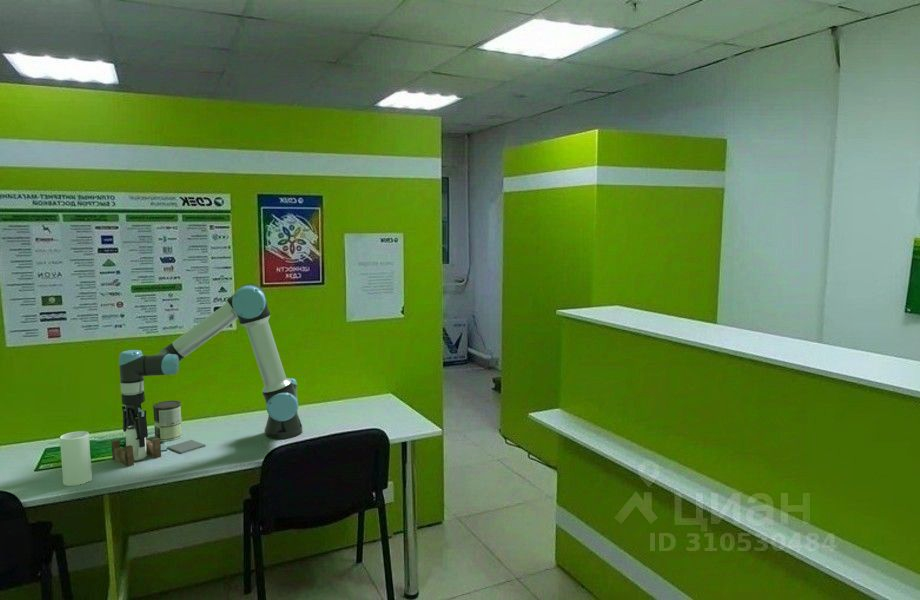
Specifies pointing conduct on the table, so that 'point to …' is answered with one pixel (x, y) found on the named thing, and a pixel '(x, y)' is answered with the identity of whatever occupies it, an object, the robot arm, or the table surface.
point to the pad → (186, 446)
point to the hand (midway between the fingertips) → (136, 452)
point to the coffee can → (167, 420)
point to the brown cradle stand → (126, 454)
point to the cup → (75, 458)
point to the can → (134, 442)
